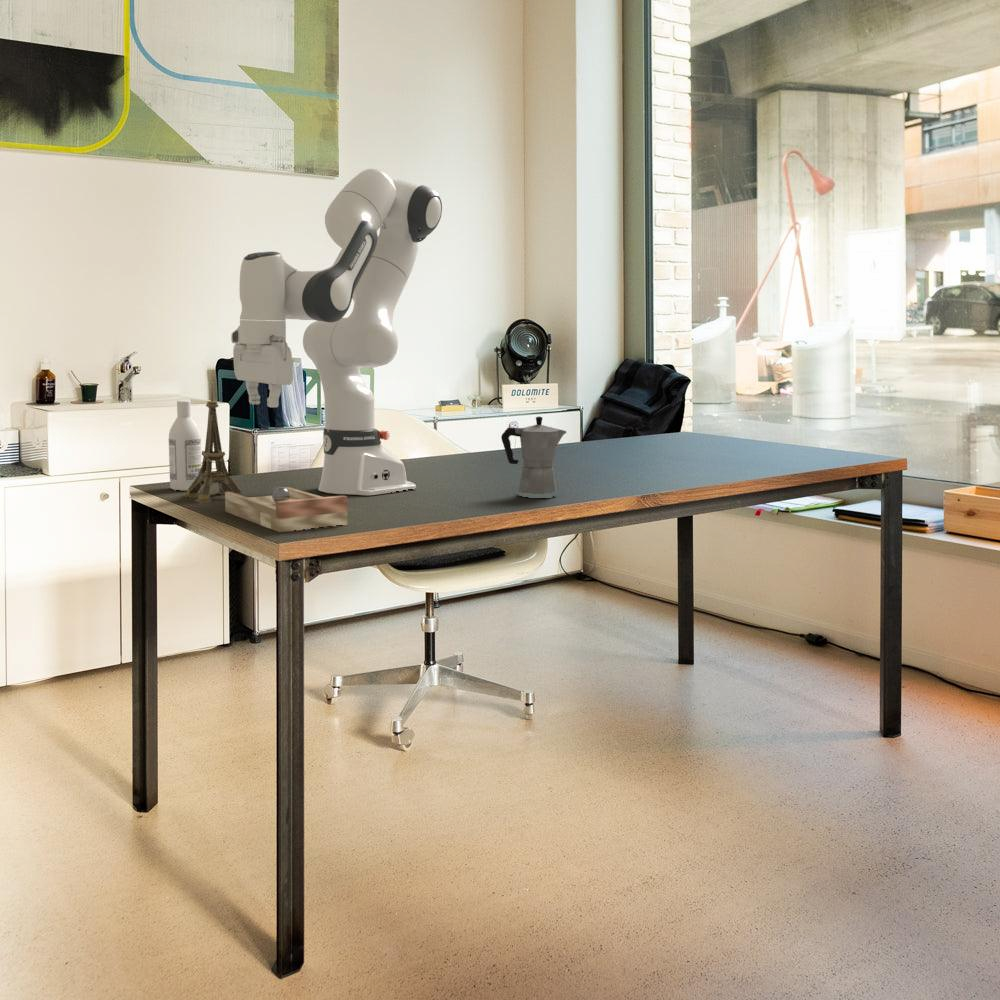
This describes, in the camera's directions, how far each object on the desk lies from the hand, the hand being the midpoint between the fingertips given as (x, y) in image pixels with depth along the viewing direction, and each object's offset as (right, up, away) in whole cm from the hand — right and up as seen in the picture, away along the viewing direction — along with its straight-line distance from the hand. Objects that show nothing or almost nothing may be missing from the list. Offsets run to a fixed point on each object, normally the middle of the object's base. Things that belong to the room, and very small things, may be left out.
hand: (263, 405), depth 216 cm
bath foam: (-24, -17, +30) cm, 42 cm away
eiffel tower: (-15, -19, +20) cm, 31 cm away
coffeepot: (+55, -18, +30) cm, 65 cm away
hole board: (+5, -22, -4) cm, 23 cm away
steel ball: (+4, -18, -3) cm, 19 cm away
